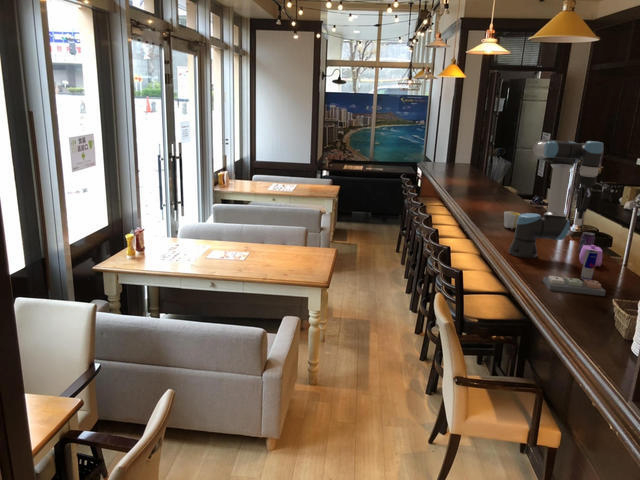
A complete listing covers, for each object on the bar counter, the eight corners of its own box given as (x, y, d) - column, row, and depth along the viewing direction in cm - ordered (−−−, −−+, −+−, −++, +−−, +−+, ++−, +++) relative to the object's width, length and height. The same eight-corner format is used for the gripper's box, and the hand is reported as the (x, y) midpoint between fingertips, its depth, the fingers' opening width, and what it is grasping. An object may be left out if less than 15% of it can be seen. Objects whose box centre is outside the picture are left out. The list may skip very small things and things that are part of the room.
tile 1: (547, 281, 245) (548, 275, 244) (559, 283, 244) (561, 276, 244) (550, 285, 240) (552, 279, 239) (563, 287, 239) (564, 280, 238)
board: (542, 281, 249) (543, 276, 248) (595, 286, 246) (596, 282, 245) (549, 290, 237) (550, 285, 237) (604, 296, 234) (605, 291, 233)
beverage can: (576, 250, 307) (580, 231, 303) (589, 252, 305) (593, 232, 302) (579, 254, 300) (584, 234, 297) (593, 255, 299) (597, 235, 295)
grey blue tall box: (588, 282, 252) (594, 252, 248) (578, 278, 256) (584, 250, 252) (593, 280, 255) (600, 251, 251) (583, 277, 259) (589, 248, 254)
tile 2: (565, 283, 244) (566, 277, 243) (577, 284, 243) (579, 278, 243) (568, 287, 239) (570, 281, 238) (581, 289, 238) (582, 282, 237)
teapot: (576, 256, 294) (579, 239, 291) (596, 259, 291) (600, 242, 288) (581, 266, 277) (585, 247, 274) (603, 269, 274) (607, 250, 272)
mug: (502, 228, 349) (505, 213, 346) (501, 225, 358) (503, 210, 355) (523, 231, 346) (526, 216, 343) (521, 227, 356) (524, 212, 353)
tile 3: (582, 285, 243) (584, 279, 242) (595, 286, 242) (596, 280, 241) (587, 289, 238) (588, 283, 237) (599, 291, 237) (601, 284, 236)
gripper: (575, 172, 244) (565, 220, 251) (584, 177, 231) (573, 227, 238) (591, 174, 243) (581, 222, 250) (601, 178, 230) (590, 229, 237)
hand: (577, 224), depth 244 cm, fingers closed
